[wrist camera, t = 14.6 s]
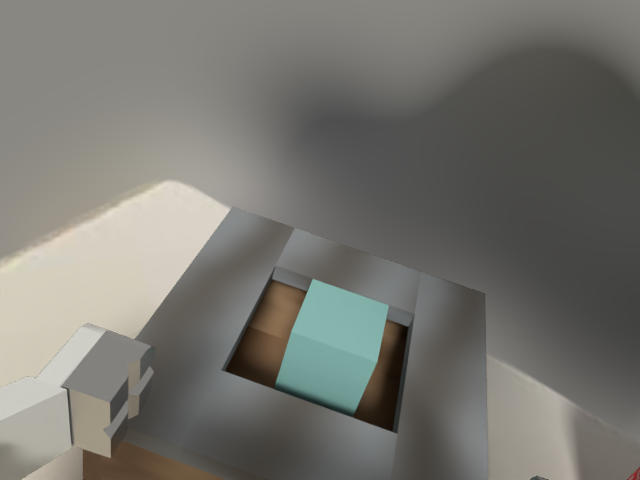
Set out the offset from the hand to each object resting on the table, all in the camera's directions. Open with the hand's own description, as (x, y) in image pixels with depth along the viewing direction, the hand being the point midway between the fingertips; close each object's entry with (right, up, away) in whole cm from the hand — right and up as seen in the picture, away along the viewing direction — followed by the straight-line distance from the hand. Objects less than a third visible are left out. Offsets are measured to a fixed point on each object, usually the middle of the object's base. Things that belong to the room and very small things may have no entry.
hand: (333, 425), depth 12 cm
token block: (-2, -8, +20) cm, 22 cm away
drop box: (-2, -8, +21) cm, 22 cm away
